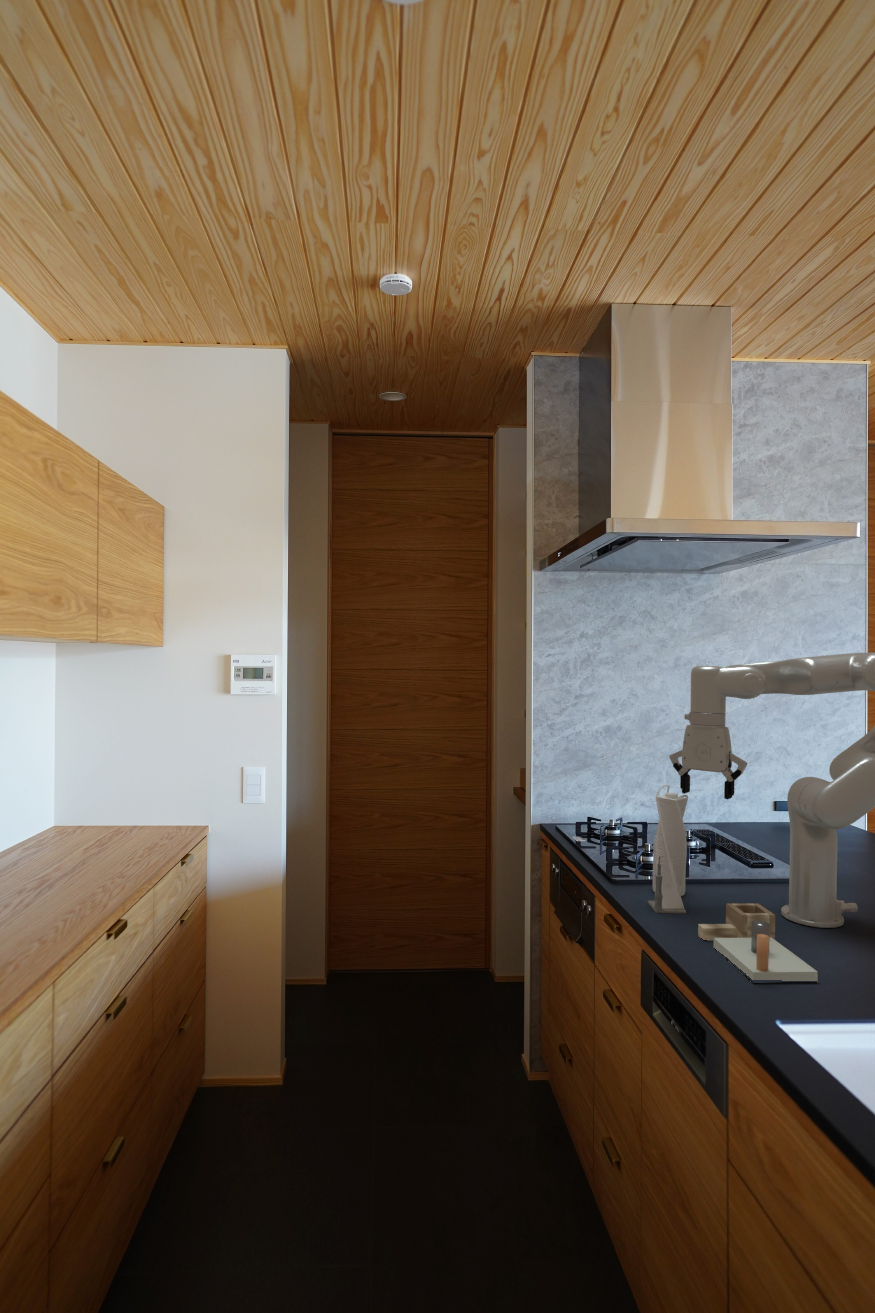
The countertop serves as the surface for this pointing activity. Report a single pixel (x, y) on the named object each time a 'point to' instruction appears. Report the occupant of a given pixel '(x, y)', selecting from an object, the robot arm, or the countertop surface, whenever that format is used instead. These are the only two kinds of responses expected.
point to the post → (758, 932)
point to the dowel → (762, 952)
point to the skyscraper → (670, 853)
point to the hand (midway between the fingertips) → (706, 795)
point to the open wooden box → (738, 922)
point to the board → (780, 960)
